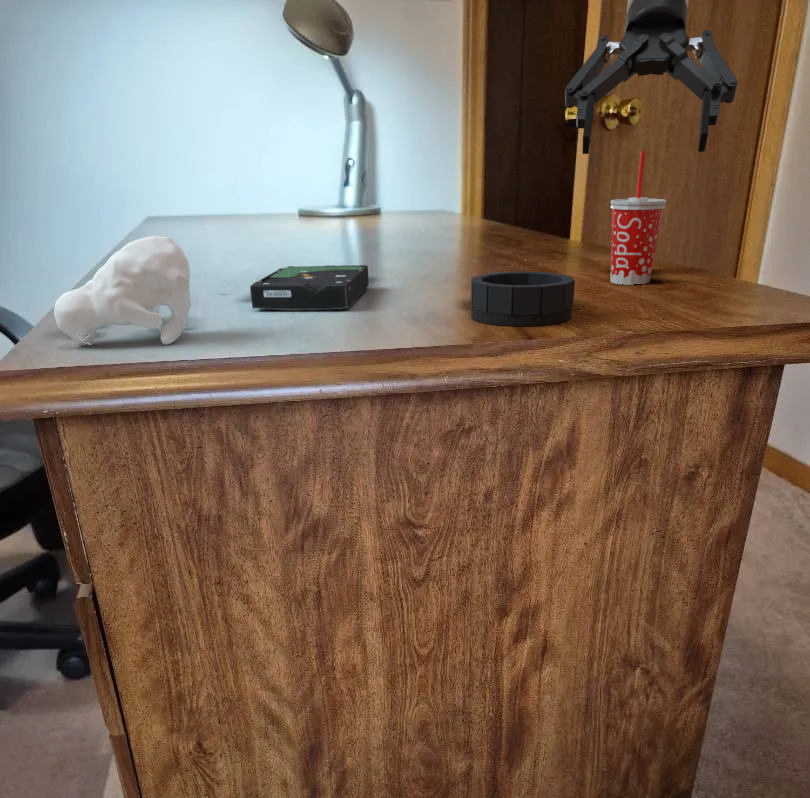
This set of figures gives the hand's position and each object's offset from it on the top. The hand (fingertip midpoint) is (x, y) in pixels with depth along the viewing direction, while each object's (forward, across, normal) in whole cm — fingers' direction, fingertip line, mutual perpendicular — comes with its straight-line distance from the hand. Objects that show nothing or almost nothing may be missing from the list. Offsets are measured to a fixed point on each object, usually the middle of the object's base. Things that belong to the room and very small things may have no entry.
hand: (643, 144), depth 95 cm
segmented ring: (+33, +10, +12) cm, 36 cm away
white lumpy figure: (+45, +42, +24) cm, 66 cm away
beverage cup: (+17, 0, -4) cm, 17 cm away
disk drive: (+28, +34, +7) cm, 45 cm away
